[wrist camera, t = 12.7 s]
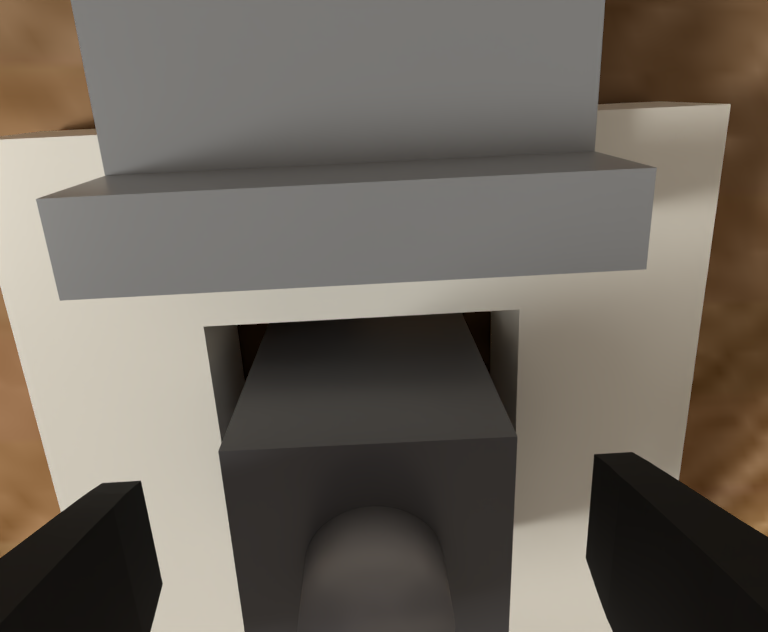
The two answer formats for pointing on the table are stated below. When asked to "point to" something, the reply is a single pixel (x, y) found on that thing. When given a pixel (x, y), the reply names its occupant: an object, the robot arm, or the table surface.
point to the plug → (371, 480)
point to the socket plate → (499, 295)
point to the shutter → (342, 147)
